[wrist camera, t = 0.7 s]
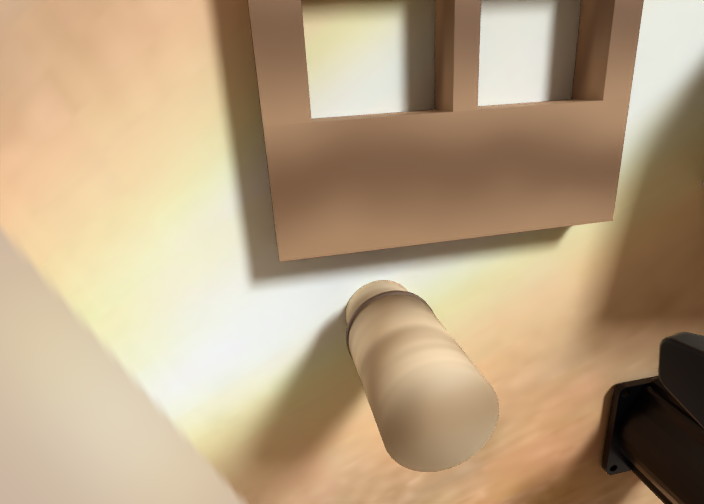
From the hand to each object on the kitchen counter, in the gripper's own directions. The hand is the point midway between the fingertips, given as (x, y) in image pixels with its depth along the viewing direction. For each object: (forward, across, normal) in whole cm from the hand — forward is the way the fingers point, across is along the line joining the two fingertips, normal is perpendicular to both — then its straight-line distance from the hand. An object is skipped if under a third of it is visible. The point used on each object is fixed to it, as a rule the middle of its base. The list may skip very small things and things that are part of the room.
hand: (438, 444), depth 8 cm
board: (+13, -7, -4) cm, 16 cm away
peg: (+13, -2, +6) cm, 14 cm away
